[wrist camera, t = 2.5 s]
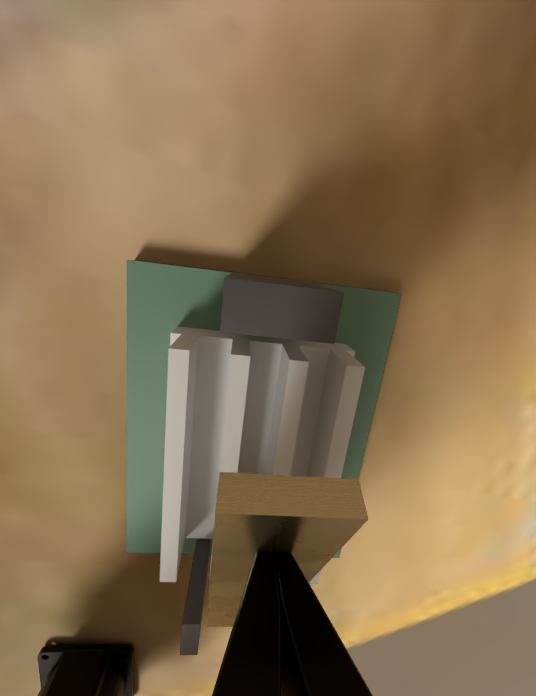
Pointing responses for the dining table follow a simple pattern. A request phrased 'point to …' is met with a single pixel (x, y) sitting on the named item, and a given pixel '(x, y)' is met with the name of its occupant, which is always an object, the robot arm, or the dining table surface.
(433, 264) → the dining table surface
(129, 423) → the heatsink board
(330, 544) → the wooden plank
